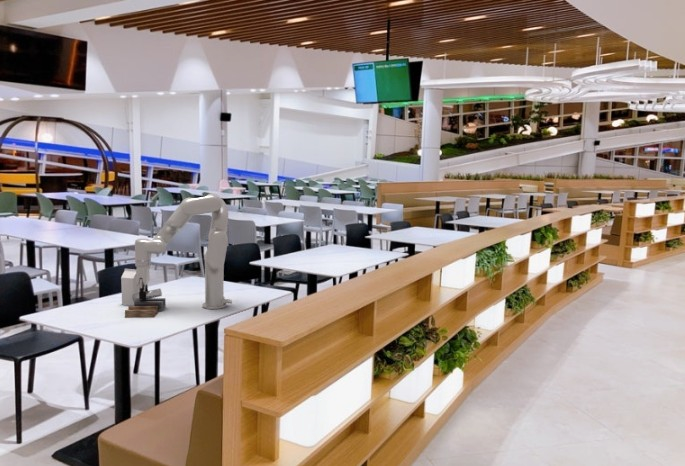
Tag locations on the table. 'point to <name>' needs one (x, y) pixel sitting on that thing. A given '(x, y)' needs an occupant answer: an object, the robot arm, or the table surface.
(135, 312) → the brown piece
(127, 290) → the milk carton
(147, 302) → the v block
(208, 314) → the table surface
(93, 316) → the table surface
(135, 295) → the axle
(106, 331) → the table surface
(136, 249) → the robot arm
